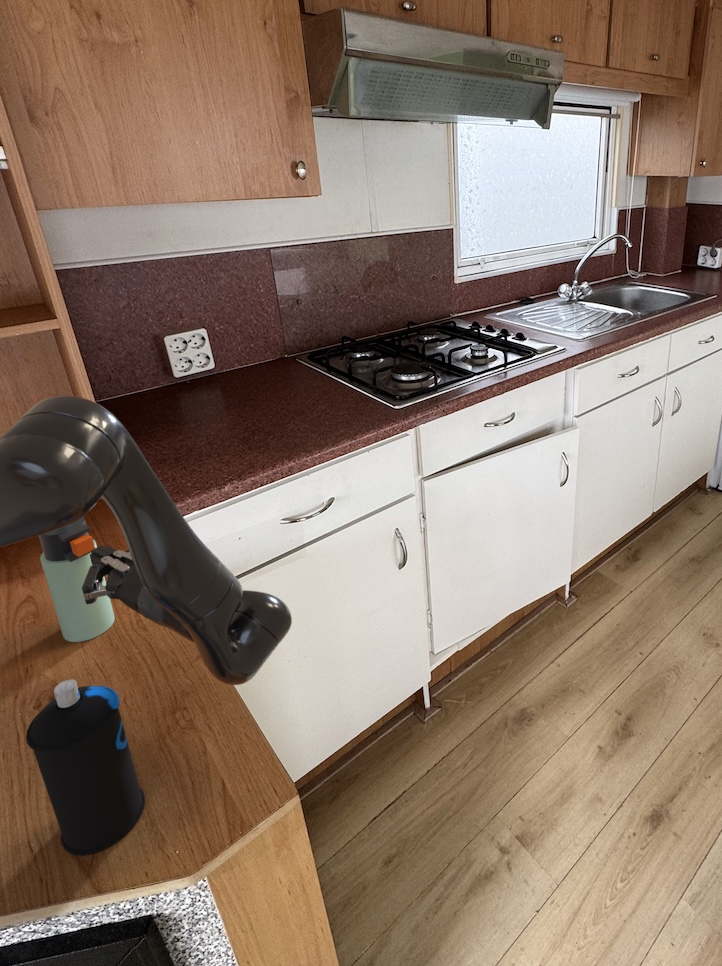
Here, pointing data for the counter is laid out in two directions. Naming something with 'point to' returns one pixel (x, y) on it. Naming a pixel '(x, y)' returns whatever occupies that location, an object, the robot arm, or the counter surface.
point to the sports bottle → (73, 585)
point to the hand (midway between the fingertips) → (96, 553)
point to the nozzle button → (82, 545)
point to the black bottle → (86, 767)
